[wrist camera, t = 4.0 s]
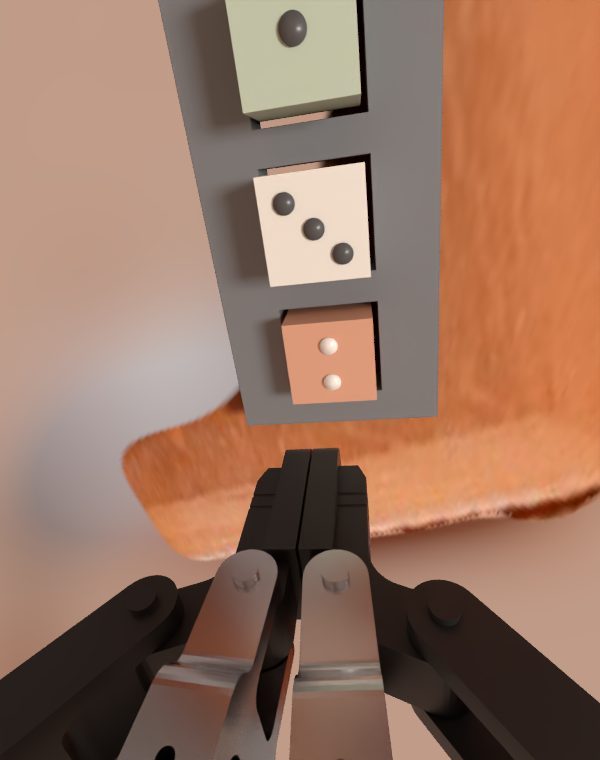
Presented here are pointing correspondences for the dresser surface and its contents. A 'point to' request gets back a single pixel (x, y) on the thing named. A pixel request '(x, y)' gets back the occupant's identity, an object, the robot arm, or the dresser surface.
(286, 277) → the cream button
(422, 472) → the dresser surface
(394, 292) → the button panel
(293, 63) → the sage button
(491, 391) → the dresser surface
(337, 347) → the terracotta button
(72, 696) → the robot arm
